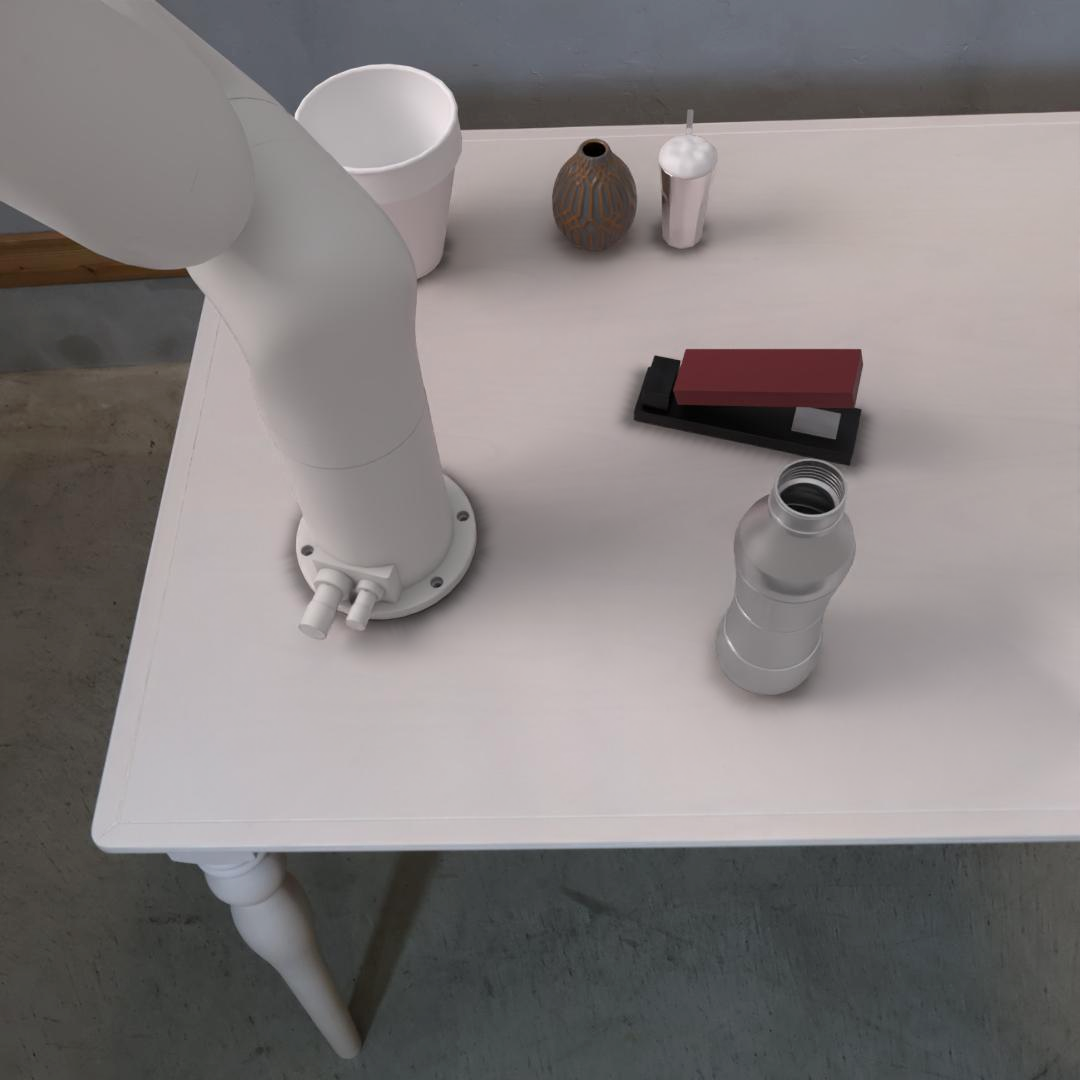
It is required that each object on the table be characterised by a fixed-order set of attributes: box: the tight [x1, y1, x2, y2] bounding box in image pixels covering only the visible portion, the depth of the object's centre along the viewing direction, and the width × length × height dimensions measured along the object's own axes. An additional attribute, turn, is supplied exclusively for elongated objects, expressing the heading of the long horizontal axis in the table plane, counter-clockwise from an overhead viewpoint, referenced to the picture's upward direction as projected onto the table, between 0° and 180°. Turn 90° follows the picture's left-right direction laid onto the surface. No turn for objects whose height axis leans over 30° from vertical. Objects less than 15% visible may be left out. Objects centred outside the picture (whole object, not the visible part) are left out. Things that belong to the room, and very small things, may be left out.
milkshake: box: [657, 109, 719, 250], centre depth 90 cm, size 4×5×10 cm
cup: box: [294, 63, 463, 280], centre depth 89 cm, size 12×12×14 cm
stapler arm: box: [673, 348, 864, 408], centre depth 79 cm, size 12×4×2 cm, turn 73°
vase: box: [551, 138, 638, 252], centre depth 91 cm, size 7×7×9 cm
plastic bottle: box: [715, 458, 857, 696], centre depth 65 cm, size 6×7×20 cm
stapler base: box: [633, 354, 863, 466], centre depth 82 cm, size 16×4×3 cm, turn 73°
